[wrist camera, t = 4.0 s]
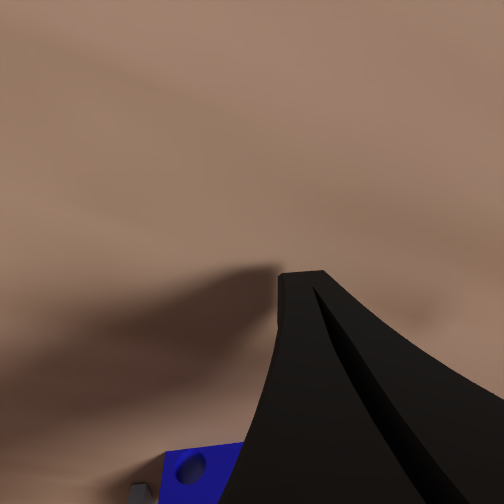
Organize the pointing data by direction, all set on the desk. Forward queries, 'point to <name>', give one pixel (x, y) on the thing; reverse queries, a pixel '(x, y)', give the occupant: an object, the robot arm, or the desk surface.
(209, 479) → the cable clip
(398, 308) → the desk surface
